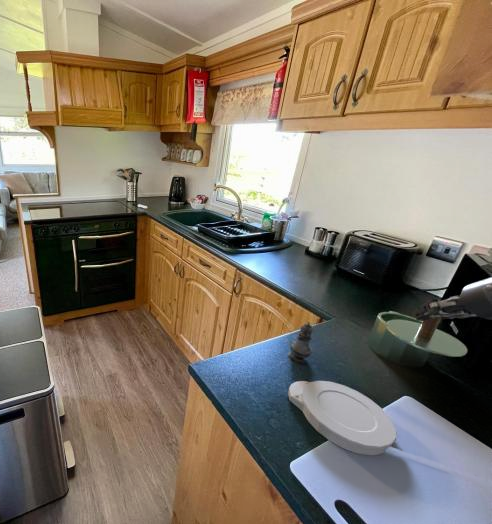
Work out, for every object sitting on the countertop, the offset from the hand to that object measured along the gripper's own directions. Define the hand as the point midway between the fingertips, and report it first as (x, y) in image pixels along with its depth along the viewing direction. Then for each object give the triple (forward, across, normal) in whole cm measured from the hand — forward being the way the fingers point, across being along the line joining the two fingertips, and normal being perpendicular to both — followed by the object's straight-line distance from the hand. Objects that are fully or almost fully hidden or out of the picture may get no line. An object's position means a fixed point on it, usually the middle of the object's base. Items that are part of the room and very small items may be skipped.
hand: (423, 316), depth 71 cm
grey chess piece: (+18, -23, -9) cm, 31 cm away
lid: (+4, -25, -23) cm, 34 cm away
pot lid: (+2, 0, -5) cm, 5 cm away
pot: (+22, +9, -5) cm, 24 cm away
